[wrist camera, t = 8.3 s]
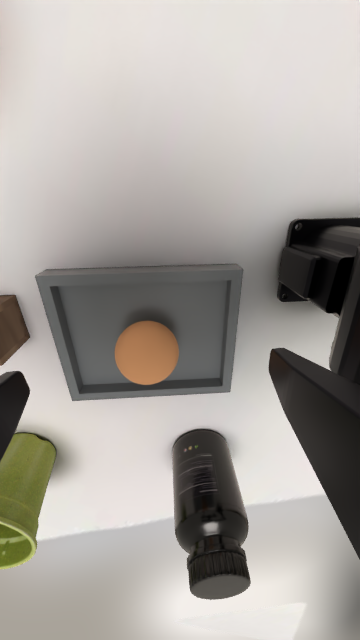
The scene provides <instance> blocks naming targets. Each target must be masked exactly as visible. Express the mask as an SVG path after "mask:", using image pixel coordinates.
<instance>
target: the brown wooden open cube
mask: <svg viewBox="0 0 360 640" xmlns="http://www.w3.org/2000/svg"><path fill="white" fill-rule="evenodd" d="M29 338H30V336H29V334H28V331H27V328H26V325H25V322H24V319H23V316H22V314H21V311H20V308H19V305H18V302H17V299H16V296H15V295H2V296H0V365H3V364H4V363H5V362H6V361H7V360H8V359H9V358H10V357H11V356H12V355H13V354H14V353H15V352H16V351H17V350H18V349H19V348H20V347H21V346H22V345H23V344H24V343H25V342H26V341H27V340H28V339H29Z"/></svg>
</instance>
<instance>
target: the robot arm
mask: <svg viewBox="0 0 360 640" xmlns="http://www.w3.org/2000/svg"><path fill="white" fill-rule="evenodd" d="M298 223H299V228H298V229H297V230H296V229H295V226H296V225H297V224H298ZM278 280H279V281H280V282H279V288H278V294H277V297H278V299H279V300H280V301H282V302H295V301H310V302H312V303H313V304H315V305H316V306H318V307H319V308H320V309H322V310H323V311H325V312H326V313H332V314H334V315H335V316H337V317H338V318H339V322H338V326H337V330H336V334H335V338H334V341H333V343H332V347H331V353H330V357H329V367H330V369H331V371H330V370H328V369H326V368H324V367H321V366H319V365H317V364H315V363H313V362H311V361H309V360H307V359H305V358H303V357H301V356H299V355H297V354H295V353H293V352H291V351H289V350H287V349H285V348H275V349H272V350H271V353H270V360H269V373H270V376H271V379H272V381H273V384H274V387H275V389H276V392H277V395H278V397H279V400H280V403H281V405H282V408H283V410H284V412H285V414H286V416H287V418H288V420H289V422H290V424H291V426H292V428H293V430H294V432H295V434H296V436H297V438H298V440H299V442H300V444H301V446H302V448H303V450H304V452H305V454H306V456H307V458H308V459H309V461H310V463H311V465H312V467H313V469H314V471H315V473H316V475H317V477H318V479H319V481H320V483H321V485H322V487H323V489H324V491H325V493H326V495H327V497H328V499H329V500H330V502H331V504H332V506H333V508H334V510H335V512H336V514H337V516H338V518H339V520H340V522H341V524H342V526H343V528H344V530H345V531H346V534H347V535H348V538H349V540H350V541H351V543H352V545H353V547H354V549H355V551H356V553H357V555H358V557H359V559H360V218H325V219H296V220H294V221H292V222H291V224H290V227H289V232H288V238H287V243H286V247H285V248H284V250H283V254H282V259H281V265H280V271H279V277H278ZM283 294H286V296H285V297H283V298H282V296H283ZM29 394H30V389H29V386H28V384H27V382H26V380H25V378H24V376H23V374H22V373H21V372H20V371H13V372H6V373H4V374H2V375H1V376H0V462H1V460H2V458H3V456H4V454H5V452H6V450H7V448H8V446H9V444H10V442H11V440H12V438H13V435H14V433H15V431H16V428H17V426H18V423H19V421H20V418H21V415H22V413H23V410H24V408H25V405H26V402H27V400H28V397H29Z"/></svg>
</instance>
